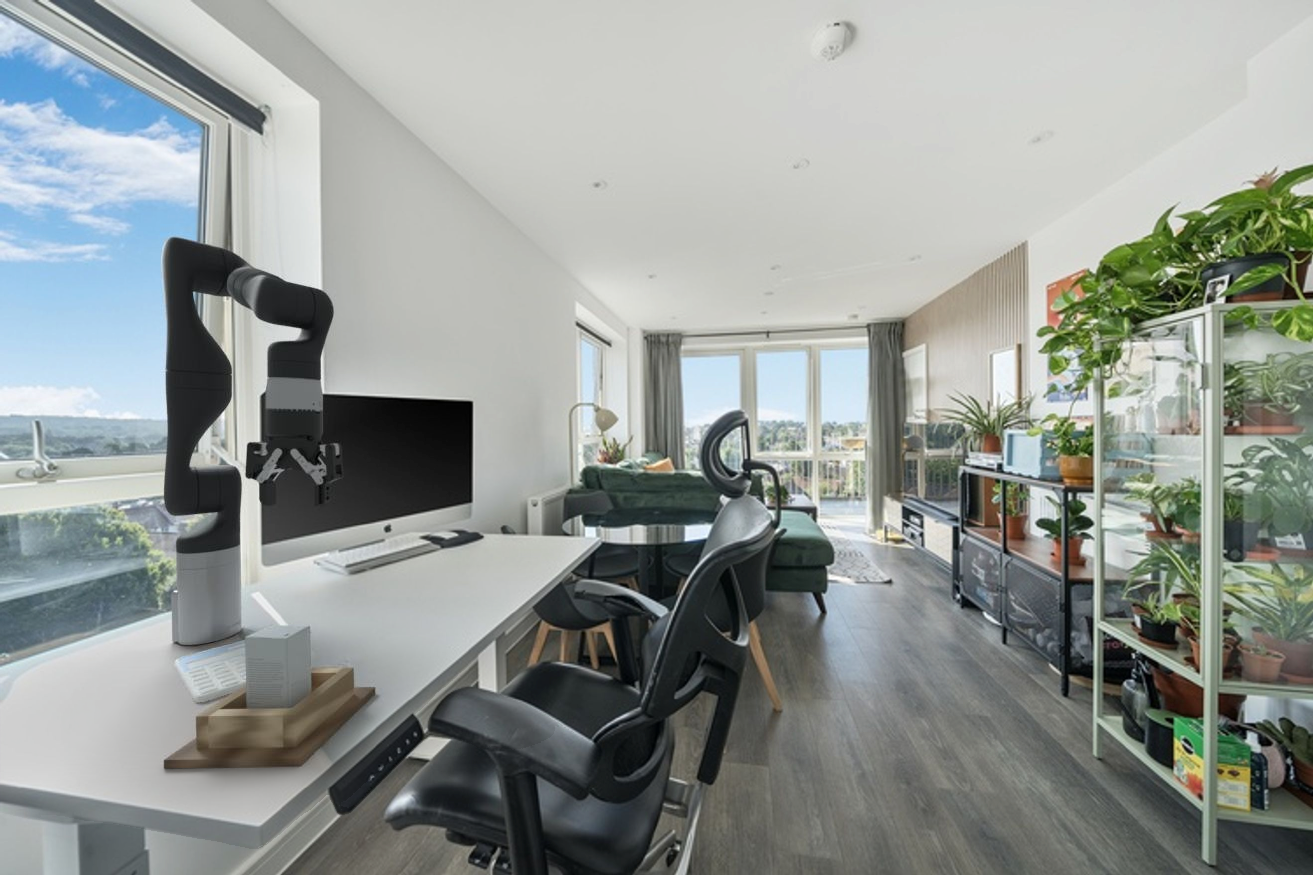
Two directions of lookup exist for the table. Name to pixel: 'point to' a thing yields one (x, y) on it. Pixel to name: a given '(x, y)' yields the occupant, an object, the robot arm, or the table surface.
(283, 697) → the skincare box
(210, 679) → the calculator
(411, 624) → the table surface
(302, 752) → the wooden box stand
